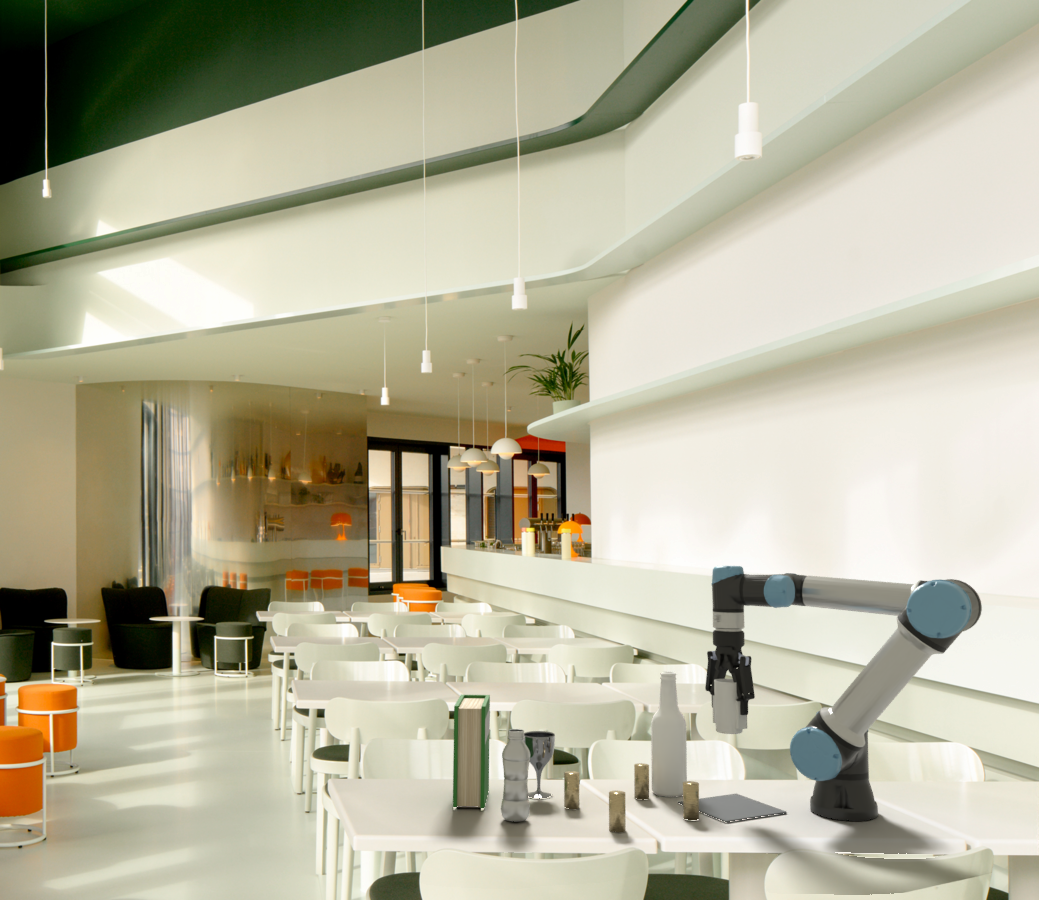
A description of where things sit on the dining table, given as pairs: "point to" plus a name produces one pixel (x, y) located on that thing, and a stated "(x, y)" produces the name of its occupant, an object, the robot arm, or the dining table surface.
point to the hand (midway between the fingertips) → (729, 725)
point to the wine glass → (539, 755)
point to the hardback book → (471, 750)
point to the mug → (725, 706)
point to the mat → (735, 807)
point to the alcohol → (668, 742)
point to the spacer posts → (641, 792)
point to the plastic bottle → (515, 777)
